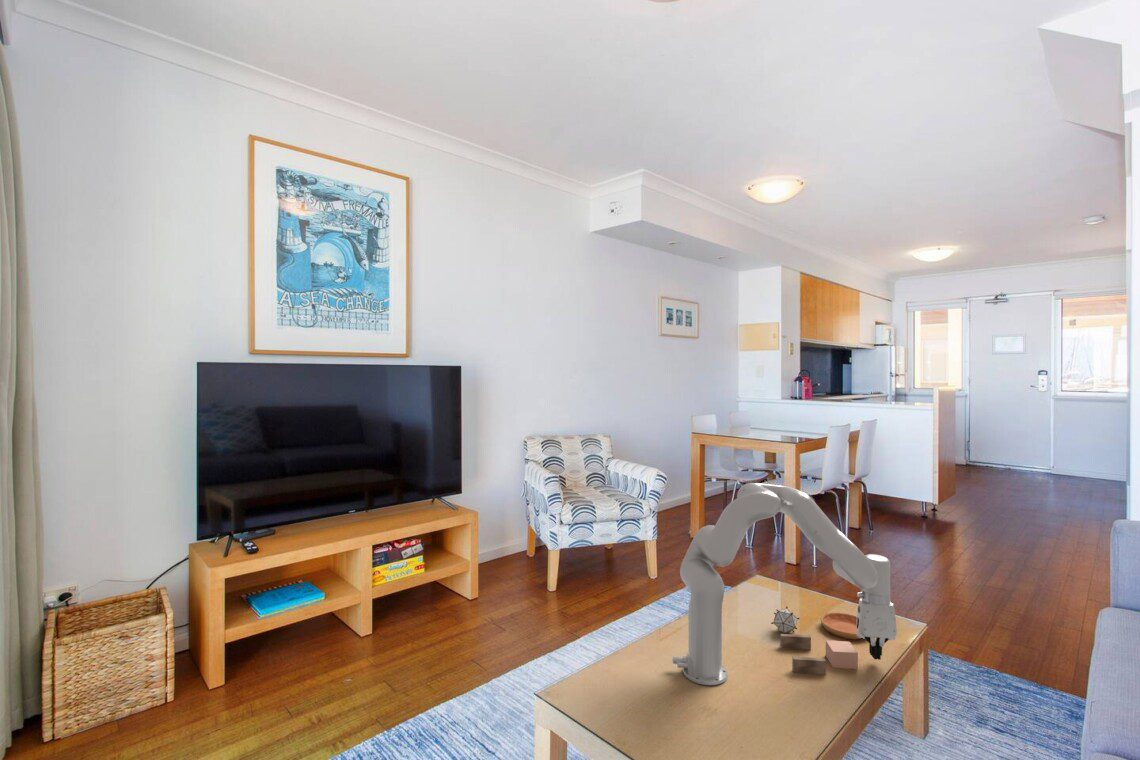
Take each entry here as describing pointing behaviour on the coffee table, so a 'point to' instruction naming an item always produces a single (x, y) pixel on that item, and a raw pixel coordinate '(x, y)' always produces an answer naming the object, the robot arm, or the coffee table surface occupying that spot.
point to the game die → (785, 620)
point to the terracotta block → (841, 654)
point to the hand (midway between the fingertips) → (875, 657)
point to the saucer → (840, 624)
